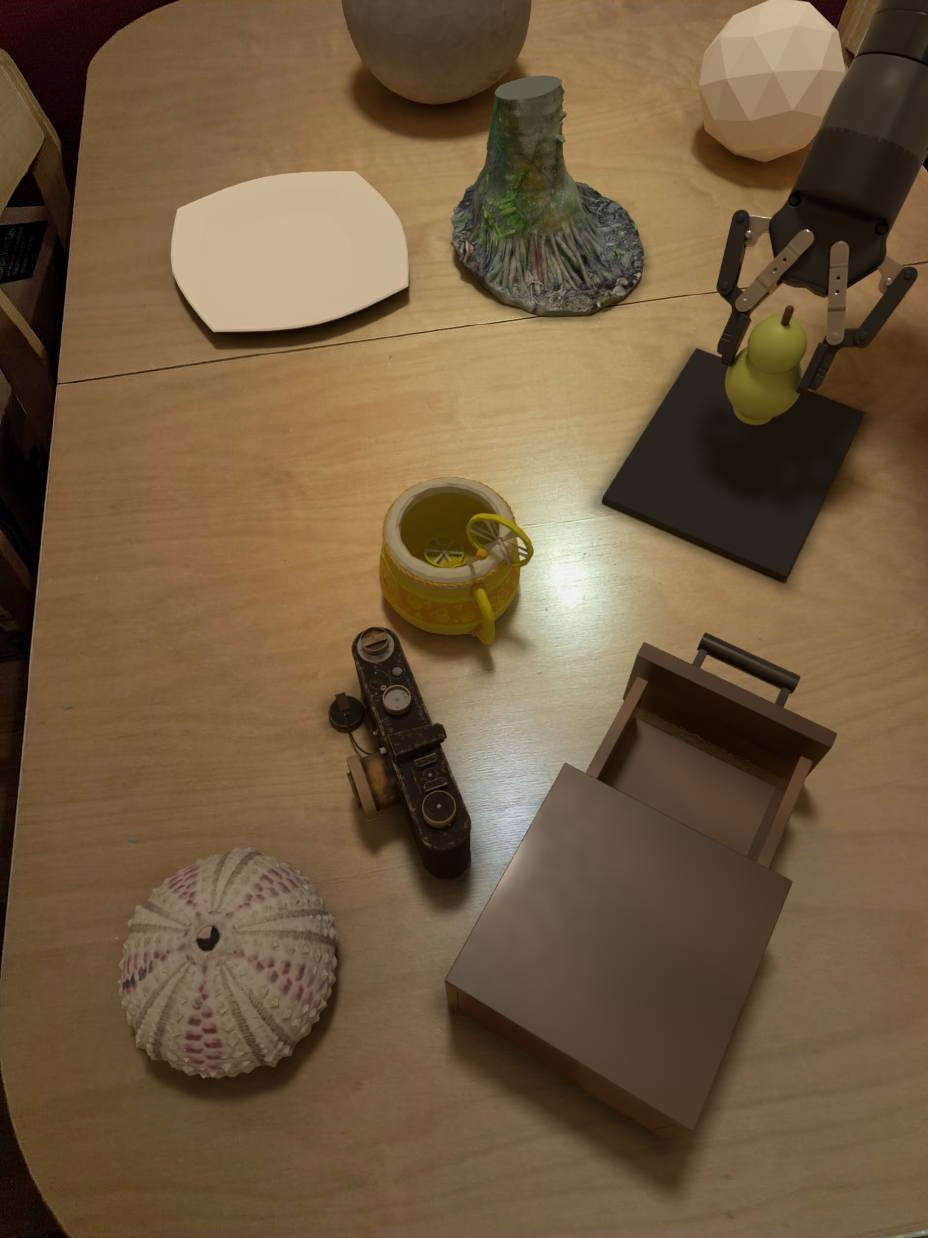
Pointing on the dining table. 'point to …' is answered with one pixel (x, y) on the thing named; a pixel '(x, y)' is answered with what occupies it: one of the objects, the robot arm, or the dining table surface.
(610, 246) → the tree stump
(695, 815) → the drawer
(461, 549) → the mug
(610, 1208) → the dining table surface
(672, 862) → the cabinet
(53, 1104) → the dining table surface
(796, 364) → the pear
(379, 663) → the camera
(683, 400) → the mat
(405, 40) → the bowl
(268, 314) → the plate
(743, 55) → the geometric sphere
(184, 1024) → the sea urchin shell
